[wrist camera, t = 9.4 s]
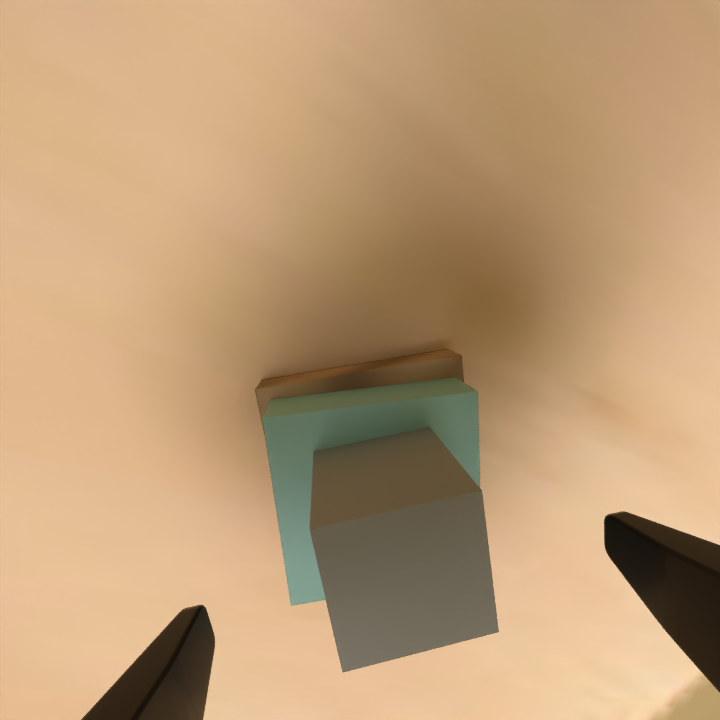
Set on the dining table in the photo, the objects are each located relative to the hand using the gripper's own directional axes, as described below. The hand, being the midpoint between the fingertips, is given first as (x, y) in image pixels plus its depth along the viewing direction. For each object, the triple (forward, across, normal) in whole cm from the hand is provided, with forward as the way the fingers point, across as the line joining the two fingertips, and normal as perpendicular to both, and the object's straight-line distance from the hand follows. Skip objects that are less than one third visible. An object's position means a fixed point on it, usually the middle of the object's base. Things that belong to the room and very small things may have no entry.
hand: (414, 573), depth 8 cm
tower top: (+10, 0, +3) cm, 10 cm away
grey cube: (+7, 0, +3) cm, 8 cm away
